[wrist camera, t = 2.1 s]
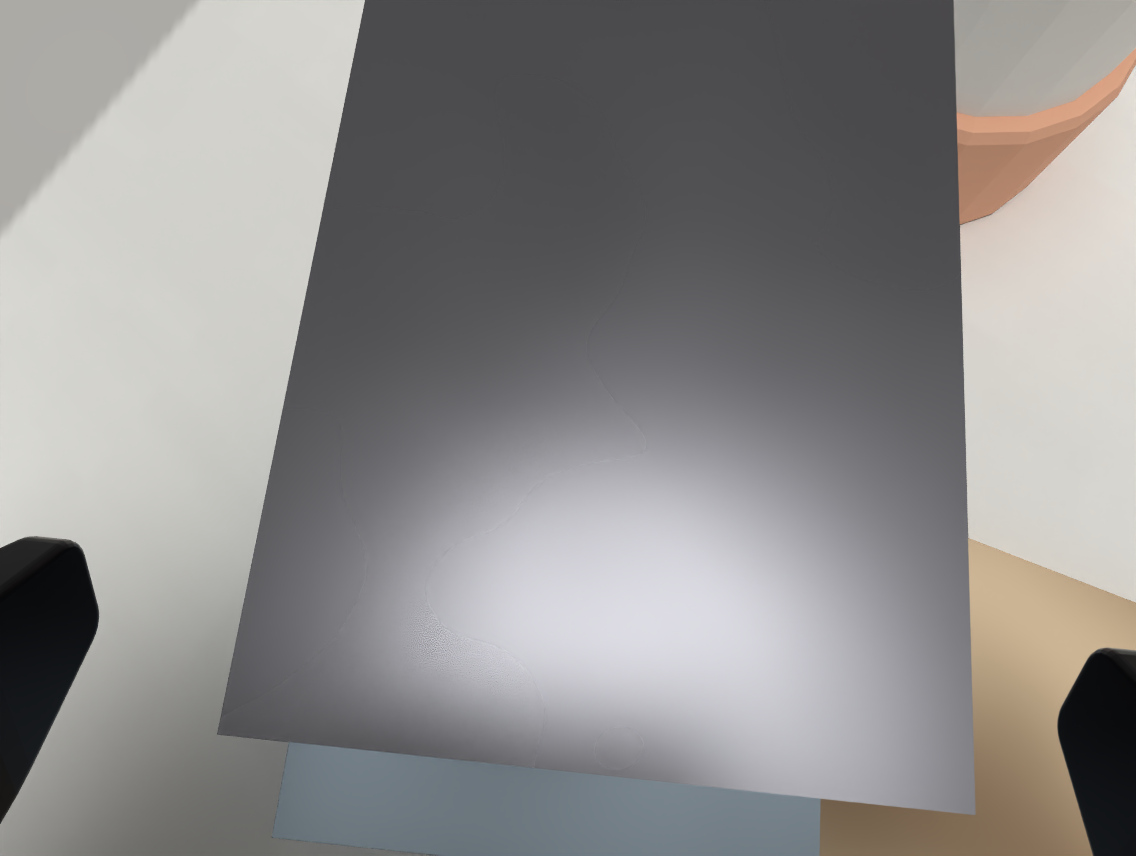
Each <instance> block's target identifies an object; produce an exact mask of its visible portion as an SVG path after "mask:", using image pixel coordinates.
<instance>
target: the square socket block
mask: <svg viewBox="0 0 1136 856" xmlns="http://www.w3.org/2000/svg"><path fill="white" fill-rule="evenodd" d="M820 801H821V799H819V798H810V797H801V796H791V795H782V794H772V793H763V792H754V791H744V790H735V789H725V788H716V787H707V786H697V785H688V784H678V783H669V782H660V781H650V780H641V779H631V778H622V777H613V776H603V775H594V774H584V773H575V772H566V771H556V770H547V769H537V768H528V767H519V766H509V765H500V764H490V763H481V762H472V761H462V760H453V759H443V758H434V757H425V756H415V755H406V754H396V753H387V752H378V751H368V750H359V749H349V748H340V747H331V746H321V745H312V744H302V743H293V742H289V745H288V750H287V756H286V761H285V767H284V773H283V778H282V784H281V789H280V795H279V800H278V806H277V812H276V817H275V823H274V828H273V834H272V838H279V839H288V840H298V841H307V842H316V843H326V844H335V845H344V846H353V847H363V848H372V849H381V850H391V851H400V852H409V853H419V854H428V855H437V856H819V854H820Z"/></svg>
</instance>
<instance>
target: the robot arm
mask: <svg viewBox="0 0 1136 856" xmlns="http://www.w3.org/2000/svg"><path fill="white" fill-rule="evenodd" d="M98 622H99V609H98V604H97V600H96V597H95V593H94V589H93V585H92V581H91V578H90V574H89V570H88V566H87V562H86V559H85V555H84V552H83V550H82V548H81V547H80V546H79V545H78V544H77V543H76V542H73V541H71V540H67V539H57V538H47V537H38V536H34V537H25V538H22V539H19V540H17V541H15V542H13V543H10V544H8V545H6V546H4V547H2V548H0V823H1V822H2V820H3V818H4V817H5V815H6V813H7V812H8V810H9V808H10V806H11V805H12V803H13V801H14V800H15V798H16V796H17V794H18V792H19V791H20V789H21V787H22V785H23V783H24V781H25V779H26V777H27V775H28V773H29V771H30V769H31V768H32V765H33V763H34V761H35V759H36V757H37V755H38V753H39V751H40V749H41V747H42V745H43V743H44V741H45V739H46V737H47V734H48V732H49V730H50V728H51V726H52V724H53V722H54V720H55V718H56V716H57V714H58V712H59V710H60V708H61V706H62V703H63V701H64V699H65V697H66V695H67V693H68V691H69V689H70V687H71V685H72V683H73V681H74V679H75V677H76V675H77V672H78V670H79V668H80V666H81V664H82V662H83V660H84V658H85V656H86V654H87V652H88V650H89V648H90V646H91V644H92V641H93V639H94V637H95V634H96V631H97V628H98ZM1057 730H1058V737H1059V742H1060V745H1061V749H1062V752H1063V755H1064V759H1065V762H1066V766H1067V769H1068V772H1069V776H1070V779H1071V783H1072V786H1073V789H1074V793H1075V796H1076V800H1077V803H1078V806H1079V810H1080V813H1081V817H1082V820H1083V823H1084V827H1085V830H1086V834H1087V837H1088V840H1089V844H1090V847H1091V851H1092V854H1093V856H1136V650H1128V649H1119V648H1109V647H1106V648H1100V649H1097V650H1096V651H1094V652H1093V653H1092V654H1090V656H1089V657H1088V659H1087V660H1086V662H1085V664H1084V666H1083V668H1082V669H1081V671H1080V673H1079V675H1078V677H1077V679H1076V680H1075V682H1074V684H1073V686H1072V688H1071V690H1070V691H1069V693H1068V695H1067V697H1066V699H1065V700H1064V702H1063V704H1062V706H1061V708H1060V711H1059V715H1058V721H1057Z"/></svg>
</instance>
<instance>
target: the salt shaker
mask: <svg viewBox="0 0 1136 856" xmlns="http://www.w3.org/2000/svg"><path fill="white" fill-rule="evenodd" d="M954 34H955V71H956V108H957V145H958V182H959V219H960V224H963V223H966V222H969V221H972V220H975V219H978V218H981V217H984V216H987V215H990V214H992V213H994V212H995V211H996V210H997V209H999V208H1000V207H1001V206H1003V205H1004V204H1005V203H1006V202H1008V201H1009V200H1010V199H1012V198H1013V197H1014V196H1015V195H1017V194H1018V193H1019V192H1021V191H1022V190H1023V189H1024V188H1026V187H1027V186H1028V185H1029V184H1030V183H1031V182H1032V181H1033V180H1034V179H1035V178H1036V177H1037V176H1038V175H1039V174H1040V173H1041V172H1042V171H1043V170H1044V169H1045V168H1046V167H1047V166H1048V165H1049V164H1050V163H1051V162H1052V161H1053V160H1054V159H1055V158H1056V157H1057V156H1058V155H1059V154H1060V153H1061V152H1062V151H1063V150H1064V149H1065V148H1066V147H1067V146H1068V145H1069V144H1070V143H1071V142H1072V141H1073V140H1074V139H1075V138H1076V137H1077V136H1078V135H1079V134H1080V133H1081V132H1082V131H1083V130H1084V129H1085V128H1086V127H1087V126H1088V125H1089V124H1090V123H1091V122H1092V121H1093V120H1094V119H1095V118H1096V117H1097V116H1098V115H1099V114H1100V113H1101V112H1102V111H1103V110H1104V109H1105V108H1106V107H1107V106H1108V105H1109V104H1110V103H1111V102H1112V101H1113V100H1114V99H1115V98H1116V97H1117V96H1118V94H1119V93H1120V91H1121V89H1122V88H1123V86H1124V84H1125V82H1126V81H1127V79H1128V77H1129V75H1130V74H1131V72H1132V70H1133V68H1134V67H1135V65H1136V0H954Z"/></svg>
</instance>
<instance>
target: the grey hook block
mask: <svg viewBox="0 0 1136 856" xmlns="http://www.w3.org/2000/svg"><path fill="white" fill-rule="evenodd" d="M217 734H218V735H227V736H237V737H246V738H255V739H265V740H274V741H284V742H293V743H302V744H312V745H321V746H331V747H340V748H349V749H359V750H368V751H378V752H387V753H396V754H406V755H415V756H425V757H434V758H443V759H453V760H462V761H472V762H481V763H490V764H500V765H509V766H519V767H528V768H537V769H547V770H556V771H566V772H575V773H584V774H594V775H603V776H613V777H622V778H631V779H641V780H650V781H660V782H669V783H678V784H688V785H697V786H707V787H716V788H725V789H735V790H744V791H754V792H763V793H772V794H782V795H791V796H801V797H810V798H819V799H829V800H838V801H848V802H857V803H866V804H876V805H885V806H895V807H904V808H913V809H923V810H932V811H942V812H951V813H960V814H970V815H976V814H975V777H974V739H973V702H972V665H971V628H970V591H969V554H968V517H967V479H966V442H965V405H964V368H963V331H962V294H961V257H960V219H959V182H958V145H957V108H956V71H955V34H954V0H365V4H364V9H363V14H362V19H361V24H360V29H359V34H358V39H357V44H356V48H355V53H354V58H353V63H352V68H351V73H350V78H349V83H348V88H347V93H346V98H345V103H344V108H343V113H342V118H341V123H340V128H339V133H338V138H337V143H336V148H335V153H334V158H333V163H332V168H331V172H330V177H329V182H328V187H327V192H326V197H325V202H324V207H323V212H322V217H321V222H320V227H319V232H318V237H317V242H316V247H315V252H314V257H313V262H312V267H311V272H310V277H309V282H308V287H307V292H306V296H305V301H304V306H303V311H302V316H301V321H300V326H299V331H298V336H297V341H296V346H295V351H294V356H293V361H292V366H291V371H290V376H289V381H288V386H287V391H286V396H285V401H284V406H283V411H282V416H281V420H280V425H279V430H278V435H277V440H276V445H275V450H274V455H273V460H272V465H271V470H270V475H269V480H268V485H267V490H266V495H265V500H264V505H263V510H262V515H261V520H260V525H259V530H258V535H257V540H256V544H255V549H254V554H253V559H252V564H251V569H250V574H249V579H248V584H247V589H246V594H245V599H244V604H243V609H242V614H241V619H240V624H239V629H238V634H237V639H236V644H235V649H234V654H233V659H232V664H231V668H230V673H229V678H228V683H227V688H226V693H225V698H224V703H223V708H222V713H221V718H220V723H219V728H218V733H217Z"/></svg>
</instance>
